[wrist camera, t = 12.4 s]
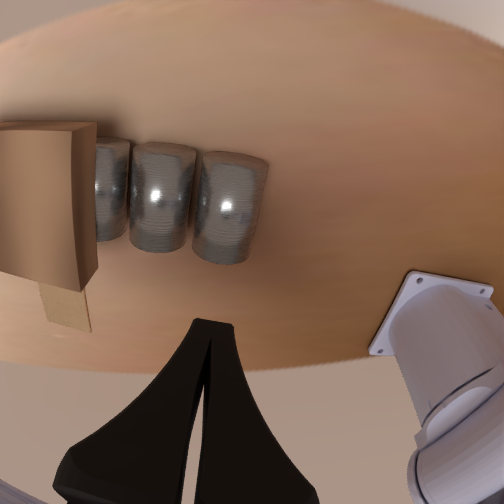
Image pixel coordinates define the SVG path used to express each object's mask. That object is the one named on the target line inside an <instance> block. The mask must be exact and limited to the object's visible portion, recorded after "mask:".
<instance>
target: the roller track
mask: <svg viewBox="0 0 504 504" xmlns="http://www.w3.org/2000/svg"><path fill="white" fill-rule="evenodd" d="M129 149H130V142H129V141H127V140H125V139H121V138H113V137H96V156H95V221H96V242H100V241H108V240H112V239H115V238H117V237H119V236H121V235H122V234H123V233H124V232H125V231H126V213H127V182H128V164H129ZM195 159H196V151H195V150H194V149H192V148H189V147H186V146H183V145H178V144H171V143H145V144H140V145H137V146H135V147H134V148H133V157H132V172H131V192H130V232H129V239H130V242H131V243H132V244H133V245H134V246H135V247H137V248H139V249H141V250H144V251H148V252H154V253H165V252H171V251H174V250H177V249H179V248H181V247H182V246H183V245H184V244H185V241H186V233H187V223H188V214H189V206H190V197H191V189H192V181H193V173H194V166H195ZM267 170H268V165H267V164H266V163H265V162H264V161H262V160H259V159H257V158H254V157H251V156H247V155H243V154H238V153H231V152H209V153H206V154H204V156H203V163H202V169H201V177H200V184H199V191H198V199H197V207H196V215H195V223H194V231H193V240H192V249H193V251H194V252H195V254H197V255H198V256H199V257H201V258H202V259H204V260H206V261H209V262H212V263H217V264H226V265H227V264H237V263H241V262H243V261H245V260H246V259H247V258H248V257H249V254H250V249H251V245H252V240H253V235H254V231H255V226H256V221H257V217H258V212H259V207H260V203H261V198H262V193H263V189H264V184H265V179H266V175H267ZM38 285H39V289H40V293H41V297H42V301H43V305H44V309H45V313H46V317H47V320H48V321H50V322H54V323H57V324H60V325H64V326H67V327H71V328H74V329H78V330H82V331H85V332H89V333H91V327H90V321H89V316H88V310H87V304H86V297H85V291H84V289H83V290H82V292H81V293H80V292H76V291H71V290H67V289H63V288H60V287H56V286H52V285H48V284H44V283H40V282H38Z"/></svg>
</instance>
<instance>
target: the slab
mask: <svg viewBox="0 0 504 504" xmlns="http://www.w3.org/2000/svg"><path fill="white" fill-rule="evenodd" d="M96 135H97V122H74V121H10V122H0V271H2V272H5V273H8V274H12V275H15V276H19V277H22V278H26V279H29V280H33V281H37V282H40V283H44V284H48V285H52V286H56V287H60V288H63V289H67V290H71V291H76V292H80V293H81V292H82V290H83V289H84V287H85V286H86V284H87V283H88V282H89V280H90V279H91V277H92V276H93V274H94V273H95V271H96V270H97V269H98V258H97V243H96V221H95V156H96Z"/></svg>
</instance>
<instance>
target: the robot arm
mask: <svg viewBox="0 0 504 504" xmlns="http://www.w3.org/2000/svg"><path fill="white" fill-rule="evenodd" d="M418 278H420V279H419V280H418V281H417V279H418ZM492 293H493V287H492V286H491V285H487V284H482V283H477V282H471V281H466V280H461V279H455V278H450V277H445V276H439V275H434V274H429V273H423V272H418V271H412V272H410V273H409V274H408V275H407V276H406V278H405V281H404V283H403V285H402V287H401V289H400V291H399V293H398V295H397V297H396V299H395V301H394V303H393V305H392V307H391V308H390V310H389V312H388V314H387V316H386V318H385V320H384V322H383V323H382V325H381V327H380V329H379V331H378V332H377V334H376V336H375V338H374V340H373V341H372V343H371V345H370V347H369V349H368V350H369V354H371V355H384V356H395V357H396V359H397V362H398V364H399V367H400V369H401V372H402V374H403V377H404V380H405V382H406V385H407V388H408V390H409V393H410V396H411V399H412V401H413V404H414V407H415V410H416V413H417V415H418V418H419V421H420V424H421V427H422V429H421V430H420V431H419V432H418V433H417V434H416V435H415V436H414V437H415V441H416V444H417V447H418V449H416V450H415V451H414V453H413V454H412V455H411V458H410V460H409V463H408V469H407V481H408V488H409V492H410V495H411V498H412V500H413V502H414V503H415V504H504V317H503V316H502V314H501V313H500V312H499V310H498V309H497V308H496V307H495V305H494V304H493V303H492V301H491V300H490V299H489V298H490V296H491V295H492ZM203 386H204V400H203V425H202V426H203V427H202V445H201V452H200V460H199V468H198V476H197V484H196V492H195V500H194V504H320V503H319V499H318V496H317V493H316V490H315V488H314V487H313V486H312V485H311V484H310V483H309V482H308V480H307V479H306V478H305V477H304V476H303V475H302V474H301V473H300V471H299V470H298V469H297V468H296V466H295V465H294V464H293V463H292V461H291V460H290V459H289V457H288V456H287V455H286V454H285V452H284V450H283V449H282V448H281V446H280V444H279V443H278V442H277V440H276V438H275V437H274V435H273V434H272V432H271V431H270V429H269V427H268V425H267V424H266V422H265V420H264V419H263V416H262V415H261V413H260V411H259V409H258V407H257V404H256V402H255V400H254V398H253V396H252V393H251V391H250V388H249V386H248V383H247V381H246V378H245V375H244V372H243V369H242V366H241V362H240V359H239V355H238V351H237V347H236V342H235V336H234V327H233V325H232V324H229V323H223V322H217V321H211V320H205V319H200V318H196V319H194V320H193V322H192V324H191V327H190V329H189V331H188V332H187V334H186V336H185V338H184V339H183V341H182V342H181V344H180V346H179V347H178V348H177V350H176V351H175V353H174V354H173V356H172V357H171V359H170V360H169V361H168V363H167V364H166V365H165V366H164V368H163V369H162V370H161V371H160V373H159V374H158V375H157V376H156V377H155V379H154V380H153V381H152V382H151V383H150V384H149V385H148V386H147V388H146V389H145V390H144V391H143V392H142V393H141V394H140V395H139V396H138V397H137V398H136V399H135V400H133V401H132V402H131V403H130V404H129V405H128V406H127V407H126V408H125V409H124V410H123V411H122V412H121V413H119V414H118V415H117V416H115V417H114V418H113V419H111V420H110V421H109V422H108V423H106V424H105V425H104V426H102V427H101V428H100V429H98V430H97V431H96V432H94V433H93V434H91V435H89V436H88V437H86V438H85V439H83V440H82V441H80V442H78V443H77V444H75V445H74V446H72V447H70V448H69V450H68V451H67V452H66V454H65V456H64V457H63V459H62V461H61V463H60V465H59V467H58V469H57V472H56V475H55V479H54V482H53V485H52V486H53V488H54V490H55V491H56V492H57V493H58V494H59V495H60V496H62V497H63V498H64V499H65V500H66V501H68V502H67V504H181V501H182V492H183V485H184V477H185V470H186V463H187V456H188V449H189V442H190V438H191V432H192V429H193V425H194V421H195V417H196V413H197V409H198V406H199V402H200V398H201V394H202V390H203ZM0 504H47V503H45V502H43V501H41V500H39V499H37V498H35V497H33V496H31V495H29V494H27V493H25V492H23V491H21V490H19V489H17V488H15V487H13V486H12V485H10V484H8V483H6V482H4V481H3V480H1V479H0Z"/></svg>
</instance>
